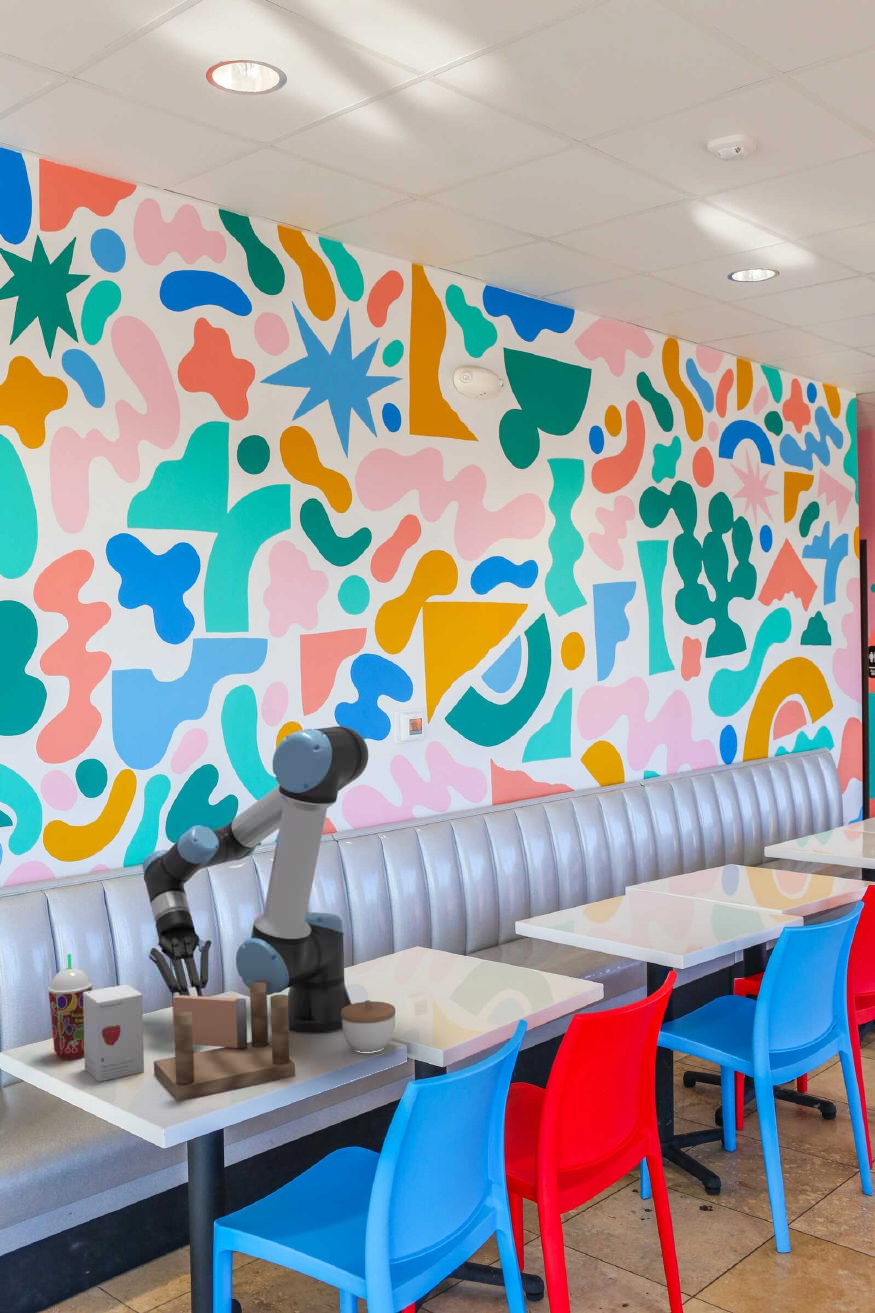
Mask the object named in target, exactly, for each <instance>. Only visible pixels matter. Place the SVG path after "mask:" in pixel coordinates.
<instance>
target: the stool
mask: <svg viewBox="0 0 875 1313" xmlns="http://www.w3.org/2000/svg"><path fill="white" fill-rule="evenodd" d="M249 994H250V995H249V998H250V999H249V1001H250V1028H251V1029H250V1031H251V1034H250V1035H251V1041H250V1042H249V1041H248V1042H247V1047H246V1048H233V1047H219V1048H214V1049H210V1050H203V1051H198V1052H194V1045H193V1026H192V1013H191V1012H178V1013H175V1014H174V1028H173V1039H174V1038H175V1043H174V1056H173V1057H169V1058H162V1059H158V1060H154V1061H153V1065H154V1066H153V1073H154V1075H155V1076H156V1077H157V1079H158V1080H159V1081H160V1082H161V1084H163V1086H164V1087H166V1089H167V1090H168V1092H170V1093H171V1094H172V1095H173V1096H174V1097H175V1099H176V1100H177V1101H178V1102H180V1101H185V1100H189V1099H194V1098H198V1097H204V1096H207V1095H212V1094H217V1093H222V1092H226V1091H227V1092H228V1091H231V1090H235V1089H236V1090H237V1089H240V1088H246V1087H249V1086H254V1085H259V1084H263V1083H268V1082H273V1081H278V1080H281V1078H283V1079H286V1077H287V1078H291V1076H292V1077H296V1062H294V1061H293V1060H292V1059H291V1058H290V1056H291V1055H290V1030H289V1022H288V994H276V995H275V994H274V995H270V999H269V1001H270V1028H271V1033H270V1034H271V1043H270V1042H269V1022H268V1021H269V1020H268V995H267V986H266V982H265V981H254V982H251V983H250V989H249ZM277 1079H278V1080H277Z"/></svg>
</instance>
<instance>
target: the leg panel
mask: <svg viewBox="0 0 875 1313" xmlns="http://www.w3.org/2000/svg"><path fill="white" fill-rule="evenodd" d="M202 996H203V995H202ZM202 996H185V995H179V994H176V995H174V996H173V997H172V1018H173V1019H172V1020H173V1021H172V1022H173V1024H172V1026H173V1029H174V1014H175V1013H178V1012H191V1013H192V1026H193V1046H209V1047H219V1048H223V1047H233V1048H246V1047H247V1043H248V1029H247V1028H248V1027H247V1025H248V1024H247V1022H248V1021H247V999H246V998H234V997H233V998H232V997H217V996H215V997H214V996H203V997H202ZM173 1044H175V1038H174V1037H173Z"/></svg>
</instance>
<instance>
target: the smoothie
mask: <svg viewBox="0 0 875 1313" xmlns="http://www.w3.org/2000/svg"><path fill="white" fill-rule="evenodd" d="M47 990H48V998H49V1008H50V1017H51V1019H50V1020H51V1028H52V1039H53V1040H52V1041H53V1042H52V1043H53V1051H54V1052H55V1053H56V1055H57V1058H58V1059H60V1060H77V1059H80V1058H83V1057H84V1011H83V992H87V991H93V982H92V981H90V978H89V976H88V975H87V974H86V973H85V972H84V971H83V970H82V969H80V968H77V967H73V966H72V953H69V954H67V968H64V969H61V970H60V971H58V972H57V973H56V974H55V975H54V977H53V978H52V980H51V983H50V985H49V986H48V988H47Z"/></svg>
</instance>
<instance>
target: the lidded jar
mask: <svg viewBox="0 0 875 1313" xmlns="http://www.w3.org/2000/svg"><path fill="white" fill-rule="evenodd" d="M341 1017H342V1032H343V1036H344V1038H345V1040H346V1042H347V1044H348V1045H349V1046H350V1047H351V1048H353V1051H354V1050H356V1051H360V1052H373V1051H378V1050H381V1049H383V1048H384V1047H385V1048H386V1047H387V1046H388V1044H389V1043H390V1042H391V1040H392V1038H393V1035H394V1033H395V1026H396V1025H395V1024H396V1008H395V1006H394V1005H393V1004H392V1003H388V1002H385V1001H371V1000H369V999H367V1000H365V1001H362V1002H356V1003H352V1004H351V1005H348V1006H346V1007H344V1008H343V1009H342V1010H341ZM356 1051H355V1052H356Z"/></svg>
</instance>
